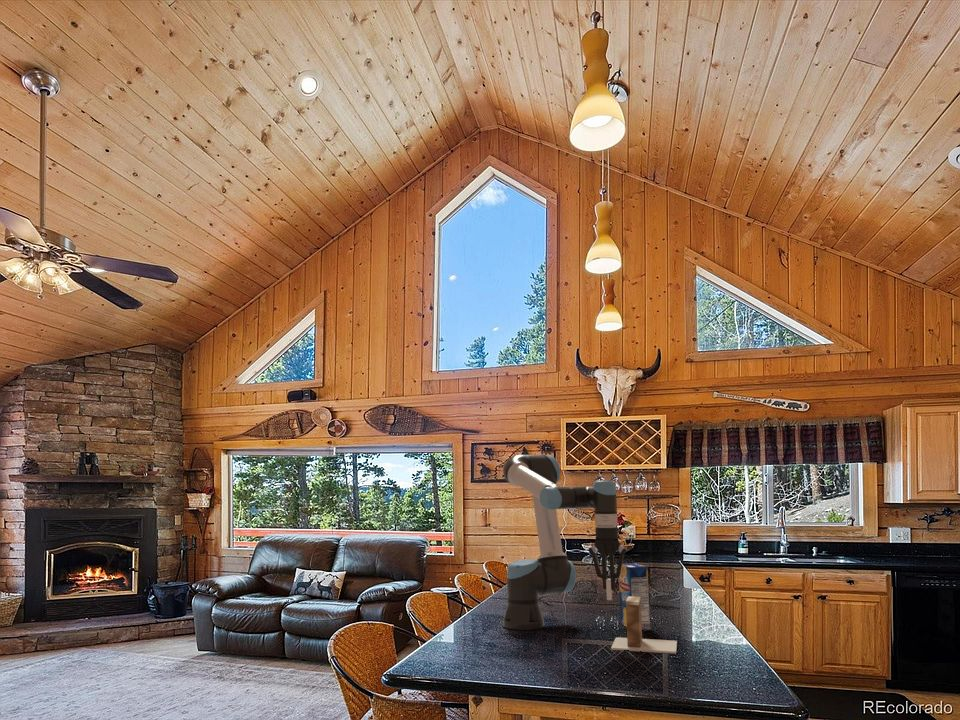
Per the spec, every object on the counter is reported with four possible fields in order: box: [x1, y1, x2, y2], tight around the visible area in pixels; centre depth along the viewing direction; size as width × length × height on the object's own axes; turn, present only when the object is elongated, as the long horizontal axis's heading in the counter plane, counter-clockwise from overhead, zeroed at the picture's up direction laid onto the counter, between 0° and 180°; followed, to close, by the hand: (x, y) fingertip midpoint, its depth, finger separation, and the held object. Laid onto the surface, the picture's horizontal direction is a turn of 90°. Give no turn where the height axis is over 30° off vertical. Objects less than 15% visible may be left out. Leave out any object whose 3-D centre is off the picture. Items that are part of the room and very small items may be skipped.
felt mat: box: [610, 637, 678, 655], centre depth 227 cm, size 20×15×1 cm
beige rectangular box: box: [626, 596, 643, 648], centre depth 229 cm, size 4×10×14 cm, turn 164°
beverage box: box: [618, 562, 651, 631], centre depth 257 cm, size 7×11×22 cm, turn 11°
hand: (609, 599), depth 232 cm, fingers closed
